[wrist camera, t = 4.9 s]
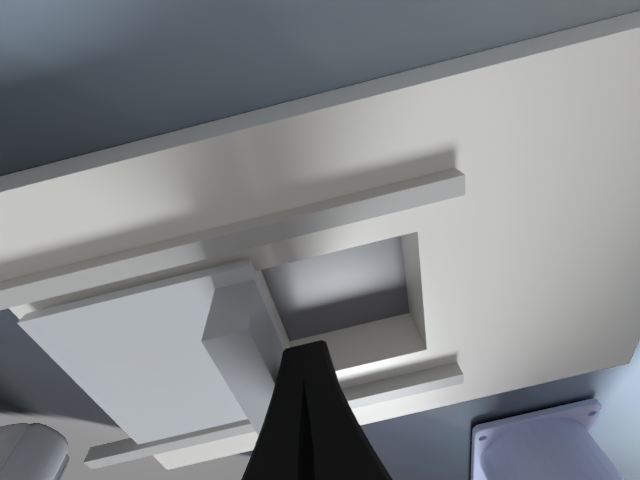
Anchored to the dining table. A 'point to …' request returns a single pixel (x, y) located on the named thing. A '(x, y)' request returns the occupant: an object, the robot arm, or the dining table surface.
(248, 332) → the shutter
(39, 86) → the dining table surface
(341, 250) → the socket plate
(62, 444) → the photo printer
